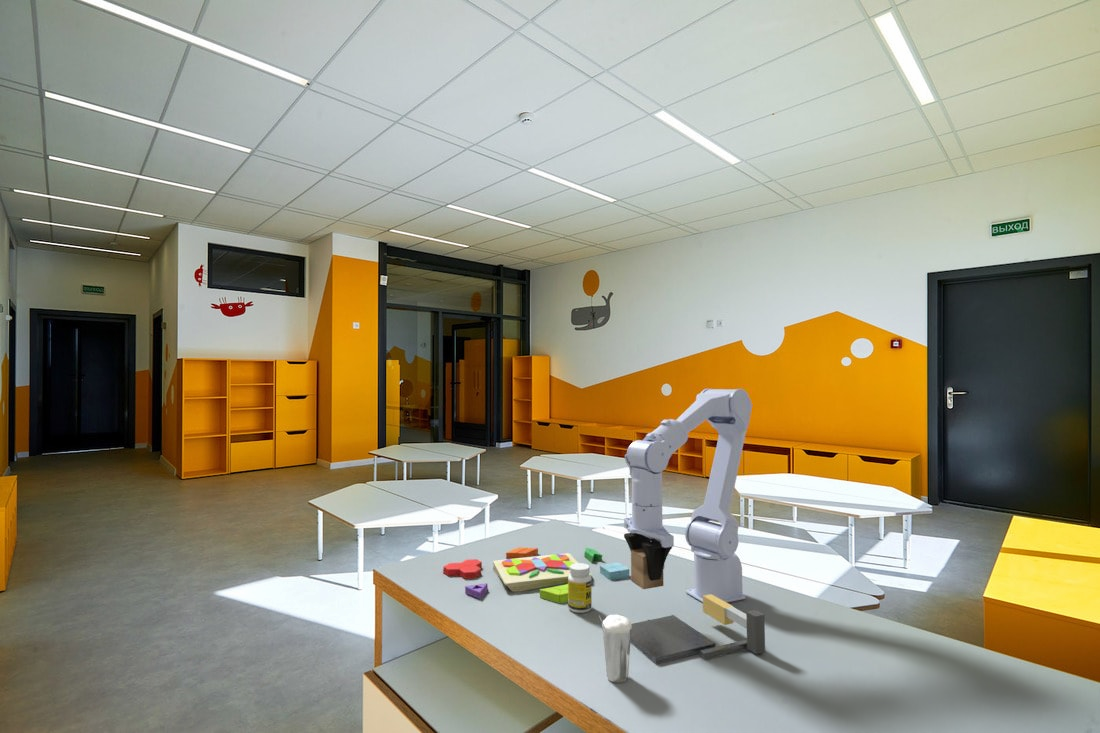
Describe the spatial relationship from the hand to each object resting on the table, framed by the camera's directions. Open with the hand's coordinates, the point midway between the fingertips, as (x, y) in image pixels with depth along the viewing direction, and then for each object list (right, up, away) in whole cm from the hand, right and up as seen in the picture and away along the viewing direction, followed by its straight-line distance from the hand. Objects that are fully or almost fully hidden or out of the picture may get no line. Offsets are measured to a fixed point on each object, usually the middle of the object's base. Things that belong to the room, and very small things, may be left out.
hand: (647, 574), depth 103 cm
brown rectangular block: (0, -2, 0) cm, 2 cm away
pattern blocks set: (-21, -10, +24) cm, 34 cm away
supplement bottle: (-13, -9, +5) cm, 16 cm away
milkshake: (-9, -8, -20) cm, 24 cm away
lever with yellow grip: (+14, -8, -8) cm, 17 cm away
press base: (+6, -8, -8) cm, 13 cm away
